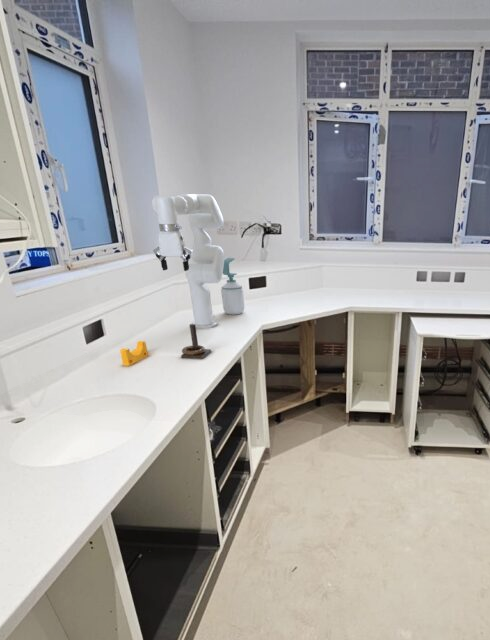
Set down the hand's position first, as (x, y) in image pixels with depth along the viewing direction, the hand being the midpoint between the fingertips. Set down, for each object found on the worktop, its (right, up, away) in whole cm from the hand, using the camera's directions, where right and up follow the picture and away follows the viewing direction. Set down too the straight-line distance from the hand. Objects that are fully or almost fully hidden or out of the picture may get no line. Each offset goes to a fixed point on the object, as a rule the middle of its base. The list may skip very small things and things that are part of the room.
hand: (175, 270), depth 176 cm
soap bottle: (+10, -8, +62) cm, 64 cm away
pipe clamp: (-12, -41, -13) cm, 44 cm away
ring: (+10, -36, -7) cm, 38 cm away
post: (+11, -38, -6) cm, 40 cm away
